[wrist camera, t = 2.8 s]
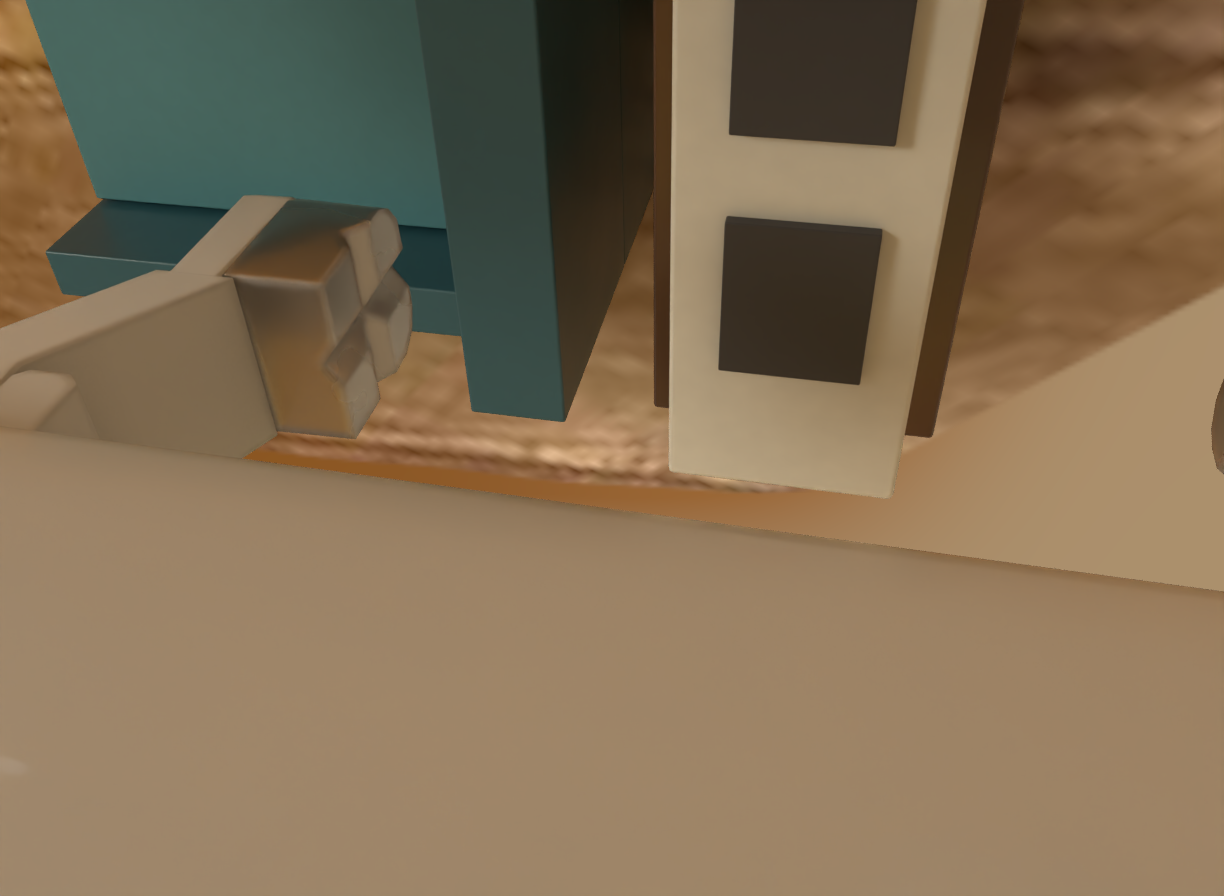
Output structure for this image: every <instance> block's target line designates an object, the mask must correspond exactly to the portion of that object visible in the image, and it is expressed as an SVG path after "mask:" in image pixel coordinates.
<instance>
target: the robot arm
mask: <svg viewBox="0 0 1224 896" xmlns="http://www.w3.org/2000/svg"><path fill="white" fill-rule="evenodd" d="M402 249H403V247H402V242H401V237H400V232H399V227H398V222H397V219H396V217H395V216H394V215H393V214H392V213H391V211H390V210H389V209H388V208H380V207H371V206H361V205H352V204H343V203H334V202H325V201H316V200H307V199H295V198H293V197H283V196H267V195H246V196H243V197H242V198H241V199H240V200H239V201H238V202H237V203H236V204H235V205H234V206H233V207H232V208H231V209H230V210H229V211H228V212H227V213H226V214H225V215H224V216H223V217H222V218H221V219H220V220H219V222H218V223H217V224H216V225H215V226H214V227H213V228H212V229H211V230H210V231H209V232H208V233H207V234H206V235H205V236H204V237H203V238H202V239H201V240H200V241H199V242H198V243H197V244H196V245H195V246H194V247H193V248H192V249H191V250H190V251H189V252H188V253H187V254H186V256H185V257H184V258H183V259H182V260H181V261H180V262H179V263H178V264H177V265H176V266H175V267H174V268H173V269H172V270H171V271H163V270H155V271H152V272H149V273H147V274H144V275H141V276H139V277H136V278H133V279H131V280H128V281H125V282H123V283H120V284H117V285H115V286H112V287H109V288H107V289H104V290H101V291H99V292H96V293H93V294H91V295H88V296H85V297H83V298H80V299H77V300H75V301H72V302H69V303H67V304H64V305H61V306H59V307H56V308H53V309H51V310H48V311H45V312H43V313H40V314H37V315H35V316H32V317H30V318H27V319H24V320H22V321H19V322H16V323H14V324H11V325H8V326H6V327H3V328H0V896H1224V592H1223V591H1216V590H1209V589H1201V588H1194V587H1186V586H1179V585H1172V584H1164V583H1157V582H1149V581H1142V580H1135V579H1127V578H1120V577H1112V576H1104V575H1097V574H1090V573H1083V572H1075V571H1068V570H1060V569H1053V568H1045V567H1038V566H1031V565H1023V564H1016V563H1009V562H1001V561H994V560H986V559H979V558H972V557H964V556H957V555H950V554H942V553H934V552H927V551H920V550H913V549H905V548H898V547H890V546H883V545H876V544H868V543H860V542H853V541H846V540H839V539H831V538H824V537H816V536H809V535H801V534H793V533H787V532H779V531H772V530H765V529H757V528H750V527H742V526H735V525H728V524H720V523H712V522H705V521H698V520H690V519H683V518H676V517H669V516H661V515H653V514H646V513H638V512H632V511H624V510H617V509H609V508H602V507H594V506H587V505H580V504H572V503H565V502H558V501H550V500H543V499H536V498H528V497H521V496H514V495H506V494H499V493H491V492H483V491H477V490H469V489H461V488H455V487H454V488H453V487H446V486H440V485H432V484H425V483H418V482H410V481H403V480H396V479H388V478H381V477H373V476H366V475H359V474H351V473H344V472H336V471H329V470H322V469H314V468H307V467H299V466H292V465H284V464H277V463H270V462H262V461H255V460H248V459H242V458H243V457H245V456H246V455H248V454H249V453H251V452H253V451H254V450H256V449H257V448H259V447H260V446H262V445H263V444H265V443H266V442H268V441H269V440H271V439H272V438H274V437H275V436H277V431H280V432H290V433H300V434H310V435H320V436H330V437H339V438H349V439H356V438H357V436H358V435H359V433H360V431H361V430H362V428H363V426H364V425H365V423H366V422H367V420H368V418H369V417H370V415H371V413H372V412H373V410H374V408H375V407H376V405H377V403H378V402H379V400H380V394H379V388H378V383H377V382H379V381H380V380H382V379H384V378H386V377H388V376H390V375H392V374H394V373H396V372H397V370H398V368H399V367H400V365H401V363H402V361H403V359H404V358H405V356H406V354H407V349H408V345H409V341H410V337H411V332H412V301H411V295H410V288H409V285H408V284H407V283H406V282H405V281H404V279H403V278H402V277H401V276H400V275H399V274H398V272H397V271H396V270H395V269H394V268H393V266H392V264H393V263H394V261H395V260H396V258H397V257H398V255H399V254H400V252H401V250H402ZM1211 431H1212V450H1213V454H1214V458H1215V462H1216V466H1217V469H1219V470H1220V471H1221V472H1222V473H1223V474H1224V380H1223V383H1222V385H1221V388H1220V391H1219V393H1218V396H1217V399H1216V404H1215V410H1214V416H1213V422H1212V428H1211Z"/></svg>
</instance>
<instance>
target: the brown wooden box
mask: <svg viewBox="0 0 1224 896" xmlns="http://www.w3.org/2000/svg"><path fill="white" fill-rule="evenodd" d="M1024 2H1025V0H987V2H986V8H985V13H984V18H983V24H982V29H981V34H980V39H979V45H978V50H977V55H976V61H975V66H974V71H973V76H972V82H971V87H970V92H969V97H968V103H967V108H966V113H965V119H964V124H963V129H962V134H961V140H960V145H959V150H958V155H957V161H956V166H955V171H954V177H953V182H952V187H951V192H950V198H949V203H948V208H947V214H946V219H945V224H944V229H943V235H942V240H941V245H940V250H939V256H938V261H937V266H936V272H935V277H934V282H933V287H932V293H931V298H930V303H929V308H928V314H927V319H926V324H925V330H924V335H923V340H922V345H921V351H920V356H919V361H918V366H917V372H916V377H915V382H914V388H913V393H912V398H911V403H910V409H909V414H908V419H907V425H906V430H905V435H909V436H918V437H927V438H930V437H932V435H933V432H934V427H935V423H936V418H937V413H938V409H939V404H940V399H941V394H942V390H943V385H944V380H945V375H946V371H947V366H948V361H949V357H950V352H951V347H952V342H953V338H954V333H955V328H956V323H957V319H958V314H959V309H960V304H961V300H962V295H963V290H964V286H965V281H966V276H967V271H968V267H969V262H970V257H971V252H972V248H973V243H974V238H975V233H976V229H977V224H978V219H979V215H980V210H981V205H982V200H983V196H984V191H985V186H986V181H987V177H988V172H989V167H990V162H991V158H992V153H993V148H994V144H995V139H996V134H997V129H998V125H999V120H1000V115H1001V110H1002V106H1003V101H1004V96H1005V91H1006V87H1007V82H1008V77H1009V73H1010V68H1011V63H1012V58H1013V54H1014V49H1015V44H1016V39H1017V35H1018V30H1019V25H1020V20H1021V16H1022V11H1023V6H1024ZM672 30H673V0H653V172H654V404H655V406H656V407H663V408H669V364H670V253H671V141H672Z"/></svg>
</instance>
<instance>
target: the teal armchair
mask: <svg viewBox="0 0 1224 896" xmlns="http://www.w3.org/2000/svg"><path fill="white" fill-rule="evenodd" d="M26 3H27V6H28V8H29V11H30V14H31V17H32V19H33V22H34V25H35V28H36V30H37V33H38V36H39V39H40V42H41V44H42V47H43V50H44V53H45V55H46V58H47V61H48V64H49V66H50V69H51V72H52V75H53V77H54V80H55V83H56V86H57V88H58V91H59V94H60V97H61V99H62V102H63V105H64V108H65V110H66V113H67V116H68V119H69V121H70V124H71V127H72V130H73V132H74V135H75V138H76V141H77V143H78V146H79V149H80V152H81V154H82V157H83V160H84V163H85V165H86V168H87V171H88V174H89V176H90V179H91V182H92V185H93V188H94V190H95V193H96V196H97V197H98V198H102V199H103V200H102V201H101V202H100V203H99V204H97V205H96V206H95V207H94V208H93V209H92V210H91V211H90V212H89V213H88V214H86V215H85V216H84V217H83V218H82V219H81V220H80V221H79V222H78V223H76V224H75V225H74V226H73V227H72V228H71V229H70V230H69V231H68V232H66V233H65V234H64V235H63V236H62V237H61V238H60V239H59V240H58V241H56V242H55V243H54V244H53V245H52V246H51V247H50V248H49V249H48V250H47V251H46V255H47V257H48V260H49V262H50V265H51V267H52V269H53V272H54V274H55V277H56V279H57V282H58V284H59V286H60V289H61V291H62V293H63V294H67V295H76V296H88V295H91V294H93V293H96V292H99V291H101V290H104V289H107V288H109V287H112V286H115V285H117V284H120V283H123V282H125V281H128V280H131V279H133V278H136V277H139V276H141V275H144V274H147V273H149V272H152V271H155V270H163V271H171V270H172V269H173V268H174V267H175V266H176V265H177V264H178V263H179V262H180V261H181V260H182V259H183V258H184V257H185V256H186V254H187V253H188V252H189V251H190V250H191V249H192V248H193V247H194V246H195V245H196V244H197V243H198V242H199V241H200V240H201V239H202V238H203V237H204V236H205V235H206V234H207V233H208V232H209V231H210V230H211V229H212V228H213V227H214V226H215V225H216V224H217V223H218V222H219V220H220V219H221V218H222V217H223V216H224V215H225V214H226V213H227V212H228V211H229V210H230V209H231V208H232V207H233V206H234V205H235V204H236V203H237V202H238V201H239V200H240V199H241V198H242V197H243V196H246V195H267V196H283V197H293V198H295V199H307V200H316V201H325V202H334V203H343V204H352V205H361V206H371V207H380V208H388V209H389V210H390V211H391V213H392V214H393V215H394V216H395V217H396V219H397V222H398V227H399V232H400V237H401V242H402V247H403V249H402V250H401V252H400V254H399V255H398V257H397V258H396V260H395V261H394V263H393V264H392V266H393V268H394V269H395V270H396V271H397V272H398V274H399V275H400V276H401V277H402V278H403V279H404V281H405V282H406V283H407V284H408V285H409V288H410V295H411V301H412V331H416V332H425V333H435V334H444V335H454V336H461V337H462V344H463V351H464V359H465V366H466V373H467V380H468V387H469V394H470V402H471V409H472V411H474V412H482V413H490V414H499V415H507V416H516V417H524V418H533V419H541V420H550V421H558V422H565V420H566V418H567V415H568V412H569V410H570V407H571V405H572V402H573V399H574V397H575V394H576V391H577V389H578V386H579V384H580V381H581V378H582V376H583V373H584V370H585V368H586V365H587V362H588V360H589V357H590V355H591V352H592V349H593V347H594V344H595V341H596V339H597V336H598V334H599V331H600V328H601V326H602V323H603V320H604V318H605V315H606V312H607V310H608V307H609V305H610V302H611V299H612V297H613V294H614V291H615V289H616V286H617V284H618V281H619V278H620V276H621V273H622V270H623V268H624V264H625V262H626V260H627V257H628V254H629V252H630V249H631V247H632V244H633V241H634V239H635V236H636V233H637V231H638V228H639V225H640V223H641V220H642V218H643V215H644V212H645V210H646V207H647V204H648V202H649V199H650V197H651V194H652V191H653V189H654V172H653V0H26Z"/></svg>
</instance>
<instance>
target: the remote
mask: <svg viewBox="0 0 1224 896" xmlns="http://www.w3.org/2000/svg"><path fill="white" fill-rule="evenodd" d="M986 2H987V0H673V30H672V141H671V253H670V364H669V469H670V471H672V472H675V473H683V474H691V475H699V476H708V477H716V478H724V479H732V480H740V481H748V482H756V483H764V484H772V485H780V486H788V487H797V488H805V489H813V490H822V491H829V492H837V493H845V494H854V495H861V496H869V497H877V498H885V499H888V498H891V496H892V495H893V493H894V488H895V482H896V477H897V472H898V467H899V461H900V456H901V451H902V446H903V440H904V435H905V430H906V425H907V419H908V414H909V409H910V403H911V398H912V393H913V388H914V382H915V377H916V372H917V366H918V361H919V356H920V351H921V345H922V340H923V335H924V330H925V324H926V319H927V314H928V308H929V303H930V298H931V293H932V287H933V282H934V277H935V272H936V266H937V261H938V256H939V250H940V245H941V240H942V235H943V229H944V224H945V219H946V214H947V208H948V203H949V198H950V192H951V187H952V182H953V177H954V171H955V166H956V161H957V155H958V150H959V145H960V140H961V134H962V129H963V124H964V119H965V113H966V108H967V103H968V97H969V92H970V87H971V82H972V76H973V71H974V66H975V61H976V55H977V50H978V45H979V39H980V34H981V29H982V24H983V18H984V13H985V8H986Z"/></svg>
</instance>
